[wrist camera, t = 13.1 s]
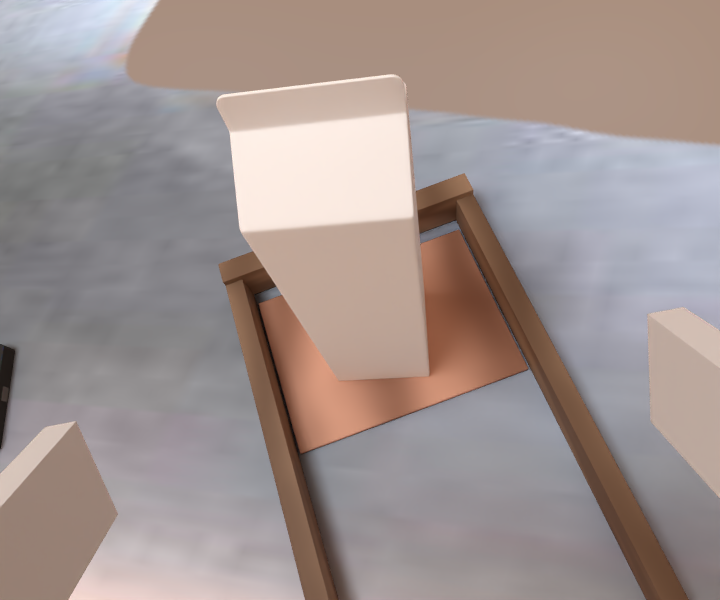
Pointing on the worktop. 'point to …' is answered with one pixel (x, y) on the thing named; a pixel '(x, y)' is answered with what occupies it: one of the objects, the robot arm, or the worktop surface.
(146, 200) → the worktop surface
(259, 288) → the bay
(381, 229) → the milk
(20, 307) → the worktop surface
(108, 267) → the worktop surface
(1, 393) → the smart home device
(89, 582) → the worktop surface
